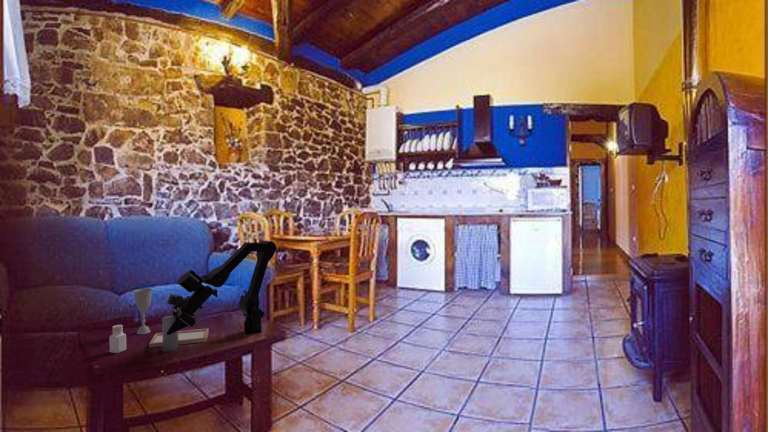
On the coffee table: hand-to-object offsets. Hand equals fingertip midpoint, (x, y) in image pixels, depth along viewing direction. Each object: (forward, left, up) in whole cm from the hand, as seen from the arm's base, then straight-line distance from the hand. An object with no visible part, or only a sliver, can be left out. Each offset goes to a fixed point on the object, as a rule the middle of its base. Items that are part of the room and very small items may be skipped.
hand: (166, 332), depth 152 cm
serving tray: (-3, -11, -7) cm, 14 cm away
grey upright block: (-1, 0, -7) cm, 7 cm away
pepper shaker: (+17, -4, -7) cm, 19 cm away
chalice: (+13, -26, -7) cm, 30 cm away
